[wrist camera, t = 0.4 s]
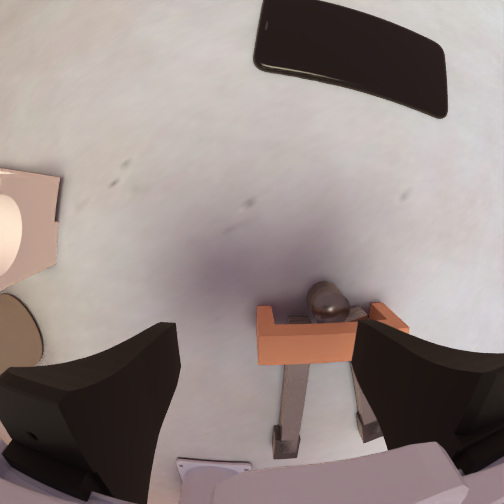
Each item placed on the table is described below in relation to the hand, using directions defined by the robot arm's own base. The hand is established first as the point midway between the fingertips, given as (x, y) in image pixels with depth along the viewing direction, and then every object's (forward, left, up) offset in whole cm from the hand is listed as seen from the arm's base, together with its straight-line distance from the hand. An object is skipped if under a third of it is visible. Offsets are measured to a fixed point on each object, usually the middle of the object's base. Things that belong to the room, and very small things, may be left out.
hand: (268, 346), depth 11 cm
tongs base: (-9, -4, -10) cm, 14 cm away
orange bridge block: (-3, -5, -9) cm, 11 cm away
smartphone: (+17, -8, -10) cm, 22 cm away
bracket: (+5, +22, -10) cm, 25 cm away
